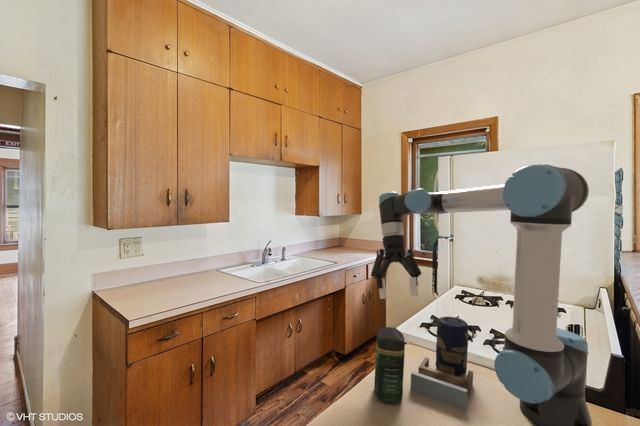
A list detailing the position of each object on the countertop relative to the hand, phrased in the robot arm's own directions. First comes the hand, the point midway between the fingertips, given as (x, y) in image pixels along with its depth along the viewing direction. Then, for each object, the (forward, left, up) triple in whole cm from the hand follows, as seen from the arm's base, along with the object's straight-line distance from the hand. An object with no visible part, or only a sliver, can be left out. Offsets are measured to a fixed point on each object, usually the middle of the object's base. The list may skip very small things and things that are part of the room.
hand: (399, 297), depth 108 cm
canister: (-16, -5, -23) cm, 29 cm away
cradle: (-16, +2, -23) cm, 28 cm away
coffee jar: (-4, +19, -23) cm, 30 cm away
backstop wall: (-16, +12, -23) cm, 30 cm away
